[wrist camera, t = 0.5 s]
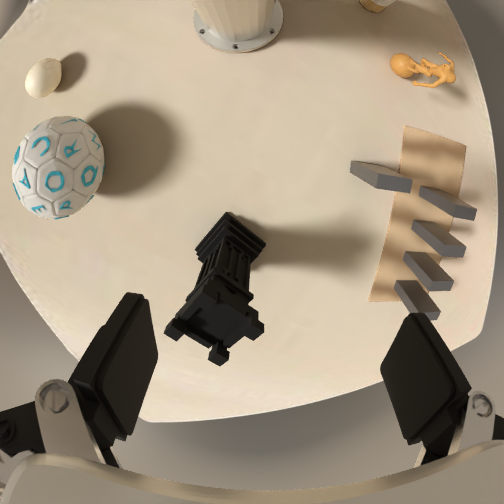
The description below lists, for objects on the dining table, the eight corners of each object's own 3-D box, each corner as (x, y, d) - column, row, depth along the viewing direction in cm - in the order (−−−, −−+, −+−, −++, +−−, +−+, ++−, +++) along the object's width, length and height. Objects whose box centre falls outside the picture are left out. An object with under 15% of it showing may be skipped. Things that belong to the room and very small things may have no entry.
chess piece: (265, 243, 43) (270, 331, 25) (234, 276, 46) (220, 369, 28) (225, 211, 41) (201, 285, 23) (195, 247, 44) (158, 333, 26)
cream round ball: (75, 72, 30) (51, 70, 24) (51, 104, 32) (26, 106, 26) (61, 52, 27) (37, 48, 21) (38, 83, 29) (14, 83, 23)
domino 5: (396, 280, 45) (419, 313, 36) (416, 280, 45) (440, 311, 36) (393, 288, 46) (415, 321, 37) (413, 288, 46) (436, 319, 37)
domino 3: (413, 219, 40) (444, 244, 31) (434, 222, 40) (466, 246, 31) (410, 229, 41) (441, 256, 32) (431, 231, 41) (462, 257, 32)
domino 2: (420, 185, 37) (455, 204, 28) (441, 190, 37) (476, 209, 28) (418, 195, 38) (452, 216, 29) (439, 199, 38) (474, 220, 29)
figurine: (401, 44, 27) (443, 28, 17) (426, 72, 29) (472, 65, 18) (373, 72, 30) (414, 59, 20) (400, 101, 32) (446, 99, 21)
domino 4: (405, 251, 43) (432, 281, 34) (425, 252, 43) (454, 281, 34) (402, 260, 43) (428, 291, 35) (423, 261, 43) (450, 290, 35)
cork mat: (404, 125, 34) (405, 126, 33) (464, 145, 34) (466, 146, 33) (368, 300, 48) (369, 301, 48) (424, 299, 48) (425, 300, 48)
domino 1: (351, 160, 37) (378, 173, 28) (380, 165, 37) (412, 179, 28) (349, 172, 38) (375, 188, 29) (379, 176, 38) (410, 193, 29)
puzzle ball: (87, 217, 42) (36, 256, 28) (43, 160, 36) (-15, 182, 23) (138, 157, 37) (84, 178, 24) (86, 96, 32) (23, 96, 19)
